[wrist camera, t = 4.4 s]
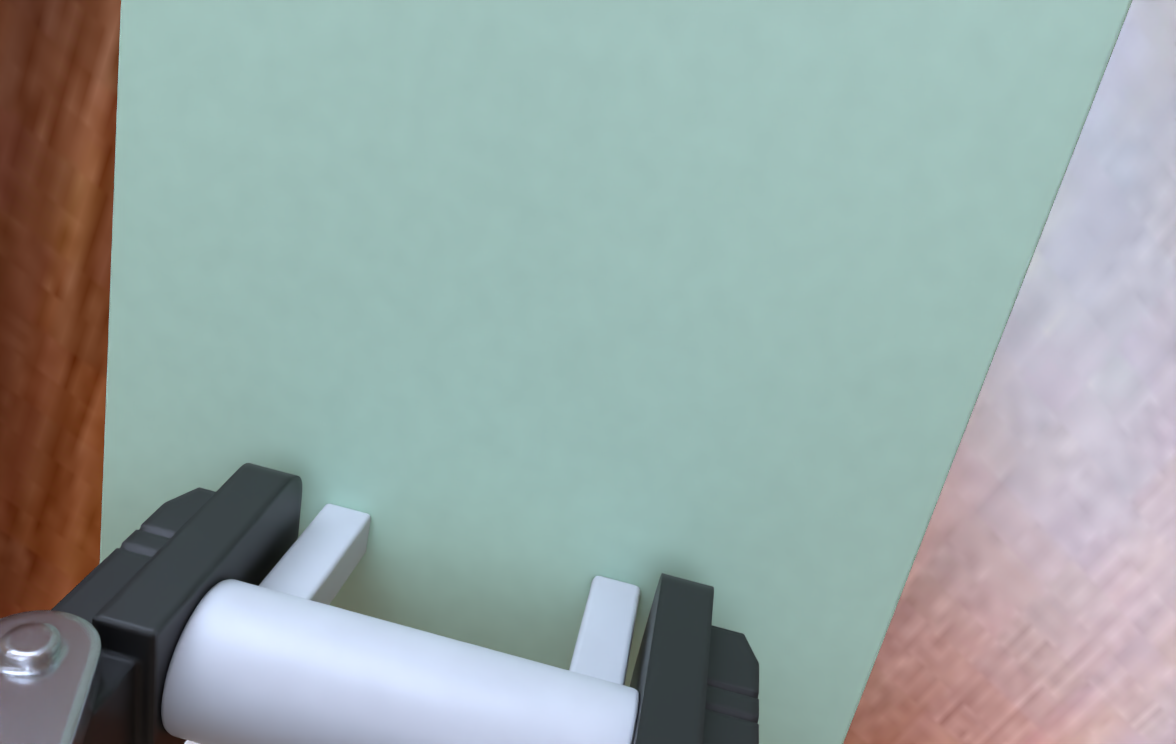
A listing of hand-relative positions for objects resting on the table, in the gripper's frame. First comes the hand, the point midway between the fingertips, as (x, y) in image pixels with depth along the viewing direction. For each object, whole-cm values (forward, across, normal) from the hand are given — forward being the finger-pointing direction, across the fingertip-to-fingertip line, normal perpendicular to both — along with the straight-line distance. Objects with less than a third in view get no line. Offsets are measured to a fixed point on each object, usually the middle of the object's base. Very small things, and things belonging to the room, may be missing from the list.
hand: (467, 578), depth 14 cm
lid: (+2, 0, -4) cm, 5 cm away
